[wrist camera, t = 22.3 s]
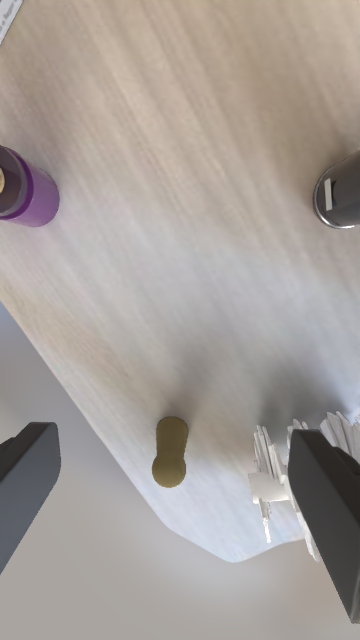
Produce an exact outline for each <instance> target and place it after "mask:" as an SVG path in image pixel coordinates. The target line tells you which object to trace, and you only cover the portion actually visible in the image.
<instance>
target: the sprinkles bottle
mask: <svg viewBox="0 0 360 640" xmlns="http://www.w3.org/2000/svg"><path fill="white" fill-rule="evenodd" d="M3 187H4V176H3V172H2V170H1V168H0V193H1V191H2V190H3Z"/></svg>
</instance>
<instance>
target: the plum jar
mask: <svg viewBox="0 0 360 640" xmlns="http://www.w3.org/2000/svg"><path fill="white" fill-rule="evenodd" d="M0 168H1V170H2V172H3V176H4V187H3V190H2V191H1V193H0V220H2V221H6V222H11V223H15V224H19V225H23V226H28V227H40V226H43V225H45V224H47V223H48V222H50V221H51V220H52V219H53V217H54V216H55V214H56V212H57V210H58V206H59V193H58V189H57V187H56V184H55V182H54V181H53V179H52V178H51V177H50V175H48V174H47V173H46V172H45V171H44V170H42V169H41V168H39V167H38V166H36V165H35V164H33V163H32V162H30V161H28V160H27V159H25V158H24V157H22V156H21V155H19V154H18V153H16V152H15V151H13V150H11V149H9V148H7V147H3V146H1V145H0Z"/></svg>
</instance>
